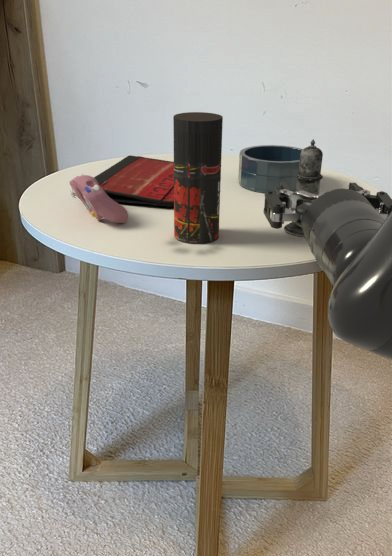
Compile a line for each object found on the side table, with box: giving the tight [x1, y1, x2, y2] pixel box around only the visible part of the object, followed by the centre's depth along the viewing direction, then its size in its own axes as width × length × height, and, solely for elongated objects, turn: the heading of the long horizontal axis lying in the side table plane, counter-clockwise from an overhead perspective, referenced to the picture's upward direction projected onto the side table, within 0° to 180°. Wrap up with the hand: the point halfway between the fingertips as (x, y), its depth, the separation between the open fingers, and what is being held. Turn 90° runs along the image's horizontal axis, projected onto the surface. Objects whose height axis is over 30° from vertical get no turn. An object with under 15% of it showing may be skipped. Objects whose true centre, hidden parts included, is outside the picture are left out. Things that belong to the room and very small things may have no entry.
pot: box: [237, 144, 304, 194], centre depth 100 cm, size 12×12×5 cm
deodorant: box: [172, 111, 224, 245], centre depth 76 cm, size 6×6×15 cm
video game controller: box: [69, 173, 129, 224], centre depth 84 cm, size 10×5×7 cm, turn 27°
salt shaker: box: [283, 138, 324, 238], centre depth 79 cm, size 6×6×12 cm
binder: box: [93, 155, 174, 208], centre depth 98 cm, size 16×2×21 cm
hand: (316, 190), depth 74 cm, fingers open, 8 cm apart
